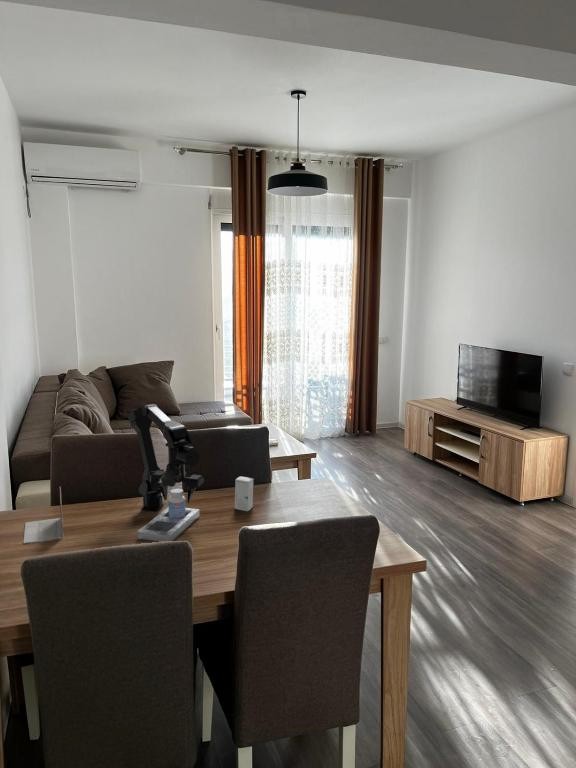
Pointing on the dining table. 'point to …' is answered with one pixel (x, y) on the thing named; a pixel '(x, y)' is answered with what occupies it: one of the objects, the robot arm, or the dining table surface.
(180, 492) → the pill bottle
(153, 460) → the robot arm
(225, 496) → the dining table surface
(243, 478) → the skincare box
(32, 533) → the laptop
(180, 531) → the white compartment tray
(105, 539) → the dining table surface
